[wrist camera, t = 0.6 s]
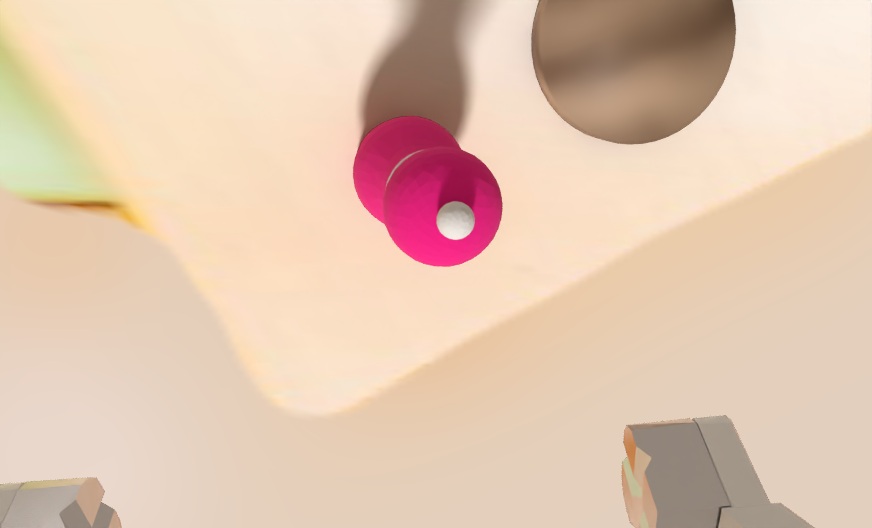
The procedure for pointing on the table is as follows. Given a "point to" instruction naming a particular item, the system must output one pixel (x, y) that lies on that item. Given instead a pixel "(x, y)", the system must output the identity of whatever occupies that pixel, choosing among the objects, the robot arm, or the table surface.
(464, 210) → the pepper mill
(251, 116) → the table surface
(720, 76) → the walnut board
